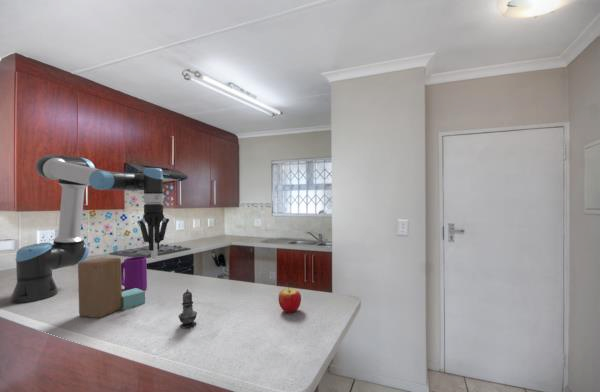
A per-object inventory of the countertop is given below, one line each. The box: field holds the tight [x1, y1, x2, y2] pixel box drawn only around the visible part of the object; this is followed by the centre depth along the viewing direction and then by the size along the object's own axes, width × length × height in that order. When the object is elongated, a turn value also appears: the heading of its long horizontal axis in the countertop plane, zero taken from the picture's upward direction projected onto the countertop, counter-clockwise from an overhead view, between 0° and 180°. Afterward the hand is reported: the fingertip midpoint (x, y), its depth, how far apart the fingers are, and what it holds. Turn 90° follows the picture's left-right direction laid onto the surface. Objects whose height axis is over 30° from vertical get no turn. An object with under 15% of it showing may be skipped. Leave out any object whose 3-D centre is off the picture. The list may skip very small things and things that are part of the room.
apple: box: [278, 282, 302, 313], centre depth 104 cm, size 8×8×10 cm
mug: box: [121, 256, 148, 291], centre depth 134 cm, size 9×16×15 cm, turn 68°
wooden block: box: [77, 256, 123, 319], centre depth 107 cm, size 10×10×20 cm
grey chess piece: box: [177, 289, 198, 330], centre depth 94 cm, size 6×6×12 cm
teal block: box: [121, 288, 146, 310], centre depth 115 cm, size 8×8×5 cm
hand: (154, 257), depth 123 cm, fingers closed
